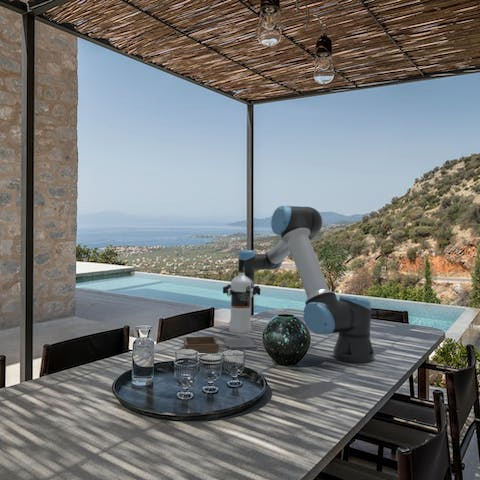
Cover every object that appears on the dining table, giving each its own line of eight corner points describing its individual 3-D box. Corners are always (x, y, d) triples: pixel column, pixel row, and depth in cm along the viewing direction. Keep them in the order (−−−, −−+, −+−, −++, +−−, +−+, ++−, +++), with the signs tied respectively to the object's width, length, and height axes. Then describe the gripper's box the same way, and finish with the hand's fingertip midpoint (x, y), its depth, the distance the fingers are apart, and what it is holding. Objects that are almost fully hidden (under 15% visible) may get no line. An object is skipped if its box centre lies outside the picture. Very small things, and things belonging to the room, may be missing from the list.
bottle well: (218, 354, 176) (218, 344, 176) (185, 355, 174) (185, 345, 174) (214, 346, 188) (214, 336, 188) (183, 346, 186) (183, 337, 186)
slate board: (256, 349, 185) (256, 346, 185) (229, 349, 183) (229, 347, 183) (249, 340, 199) (249, 338, 199) (224, 341, 197) (224, 338, 197)
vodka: (240, 328, 198) (242, 258, 197) (255, 332, 191) (257, 259, 190) (224, 331, 191) (225, 258, 190) (239, 335, 185) (241, 260, 184)
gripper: (267, 295, 208) (266, 303, 185) (220, 293, 209) (213, 301, 187) (268, 278, 207) (266, 285, 185) (221, 277, 209) (214, 283, 187)
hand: (240, 293), depth 186 cm, fingers closed on vodka, 8 cm apart
